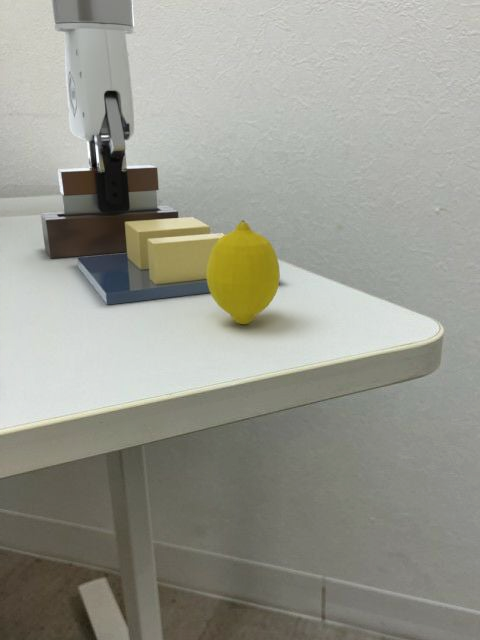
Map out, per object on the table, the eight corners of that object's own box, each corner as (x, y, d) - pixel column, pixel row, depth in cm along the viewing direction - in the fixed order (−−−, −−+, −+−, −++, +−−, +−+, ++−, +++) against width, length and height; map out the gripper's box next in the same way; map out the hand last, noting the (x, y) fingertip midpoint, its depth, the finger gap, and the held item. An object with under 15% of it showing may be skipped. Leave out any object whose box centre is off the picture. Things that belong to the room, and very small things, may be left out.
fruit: (279, 312, 54) (281, 213, 51) (278, 335, 49) (280, 228, 46) (211, 310, 54) (209, 212, 51) (204, 334, 49) (200, 226, 46)
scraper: (71, 253, 70) (61, 171, 67) (67, 249, 72) (57, 169, 69) (162, 245, 74) (157, 167, 71) (156, 240, 76) (151, 164, 73)
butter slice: (155, 284, 57) (153, 243, 56) (149, 278, 59) (146, 238, 57) (230, 276, 60) (230, 237, 59) (222, 271, 62) (222, 232, 60)
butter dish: (106, 304, 55) (105, 293, 55) (78, 267, 66) (77, 257, 65) (279, 284, 62) (279, 274, 61) (227, 253, 72) (227, 244, 72)
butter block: (140, 270, 61) (137, 231, 60) (127, 258, 66) (124, 221, 64) (211, 263, 64) (210, 226, 63) (194, 251, 68) (193, 216, 67)
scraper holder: (50, 258, 69) (45, 219, 67) (45, 250, 72) (40, 213, 70) (179, 247, 74) (178, 211, 73) (169, 240, 78) (167, 205, 76)
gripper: (41, 19, 69) (62, 199, 76) (68, 6, 56) (90, 225, 63) (113, 22, 72) (127, 195, 79) (155, 11, 59) (166, 219, 66)
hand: (111, 207), depth 71 cm, fingers closed on scraper, 2 cm apart
